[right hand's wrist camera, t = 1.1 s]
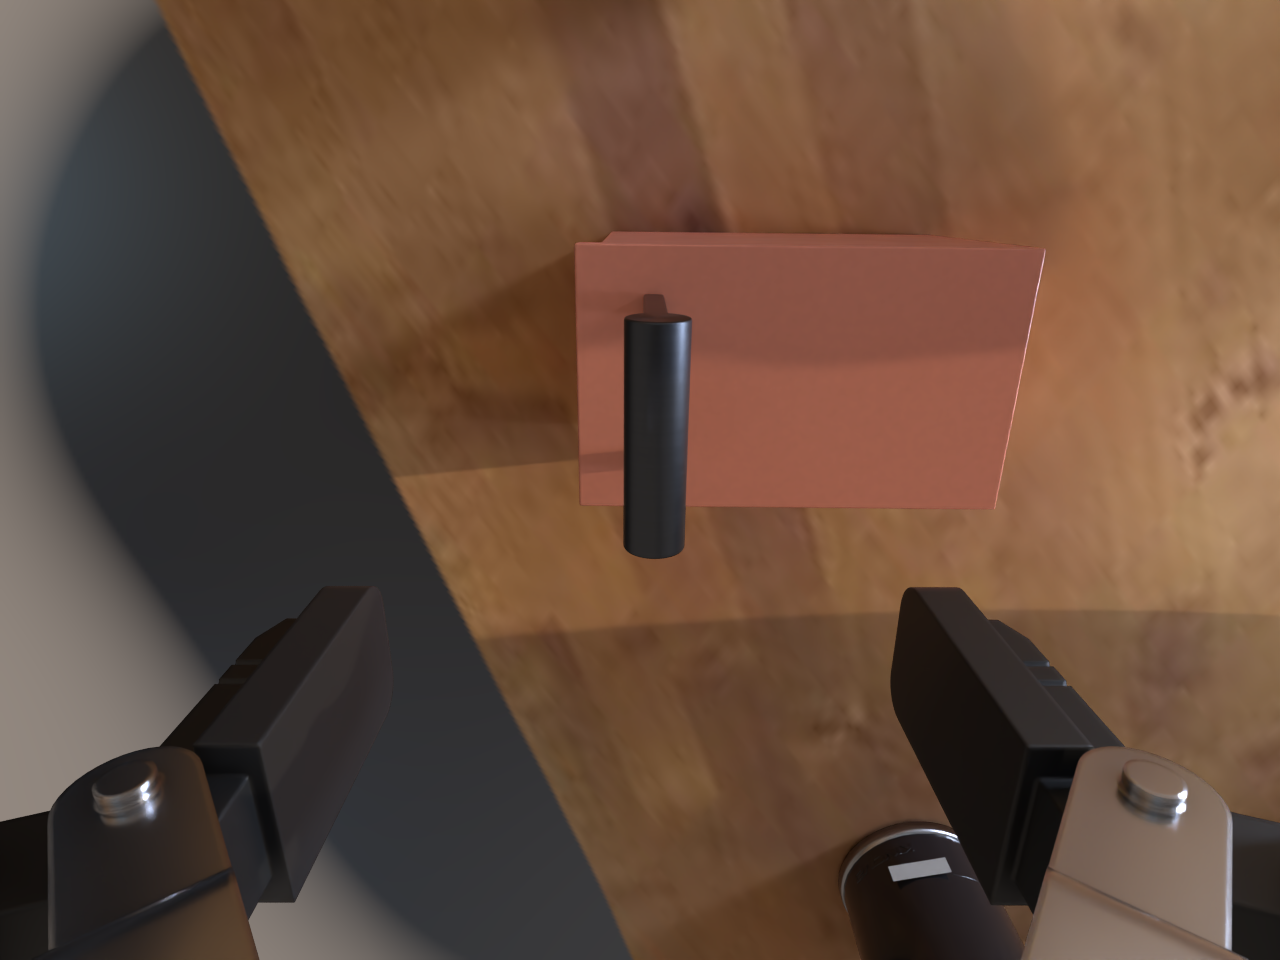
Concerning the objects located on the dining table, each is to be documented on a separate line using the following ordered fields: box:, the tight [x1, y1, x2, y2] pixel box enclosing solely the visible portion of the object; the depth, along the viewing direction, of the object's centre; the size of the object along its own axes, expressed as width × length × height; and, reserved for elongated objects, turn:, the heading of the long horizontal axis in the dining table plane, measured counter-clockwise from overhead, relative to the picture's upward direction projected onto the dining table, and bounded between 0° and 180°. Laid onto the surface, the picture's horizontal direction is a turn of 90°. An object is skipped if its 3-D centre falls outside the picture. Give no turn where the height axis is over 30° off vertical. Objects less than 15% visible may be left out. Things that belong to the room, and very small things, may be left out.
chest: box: [602, 231, 1029, 247], centre depth 32 cm, size 15×10×10 cm, turn 89°
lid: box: [574, 242, 1046, 559], centre depth 23 cm, size 16×10×8 cm, turn 89°
